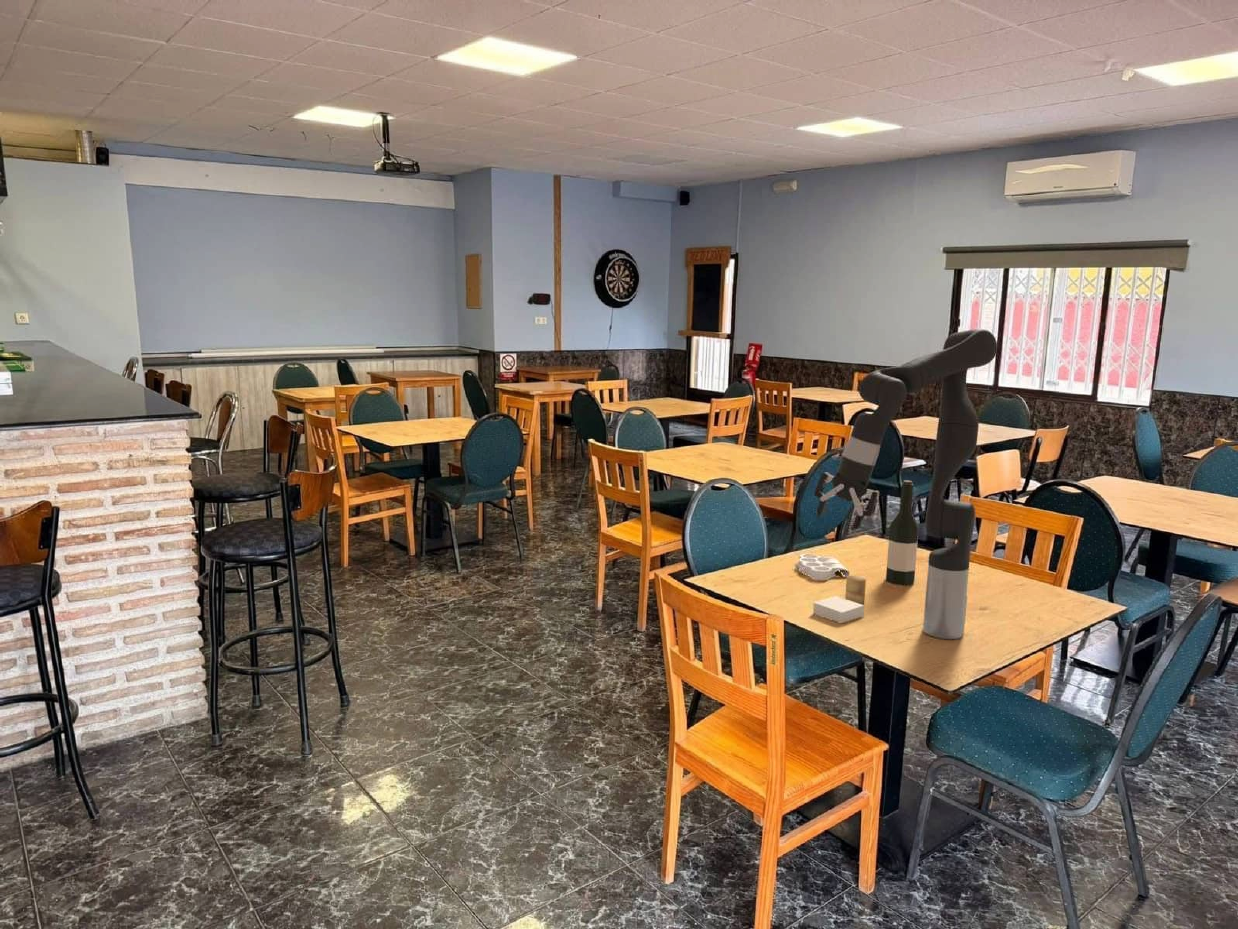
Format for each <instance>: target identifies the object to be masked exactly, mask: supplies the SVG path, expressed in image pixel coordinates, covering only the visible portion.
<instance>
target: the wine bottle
mask: <svg viewBox="0 0 1238 929" xmlns="http://www.w3.org/2000/svg"><path fill="white" fill-rule="evenodd" d="M900 490H901V491H900V499H899V500H900V502H899V512H898V513H897V514H896V516H895V517H894V518H893V520H892V521H891V523H890V525H889V532H888V533H889V534H888V546H887V547H888V548H887V559H886V562H887V563H886V573H885V582H887V583H890V584H893V585H896V586H903V587H906V586H913V585H914V583H915V577H916V564H917V553H918V552H917V551H918V540H919V528H920V525H919V524H918V523H917V521H916V518H915V516H914V515H913V513H912V510H913V508H912V507H913V498H914V497H913V496H914V483H913V481H912V480H908V479H907V480H906V479H905V480H903V482H902V483H901V488H900Z"/></svg>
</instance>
